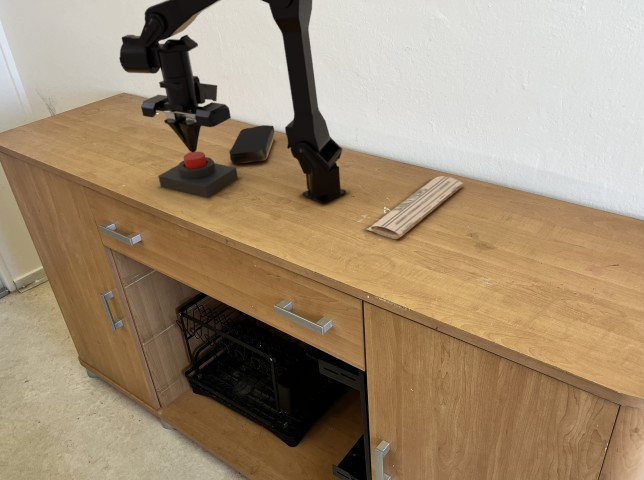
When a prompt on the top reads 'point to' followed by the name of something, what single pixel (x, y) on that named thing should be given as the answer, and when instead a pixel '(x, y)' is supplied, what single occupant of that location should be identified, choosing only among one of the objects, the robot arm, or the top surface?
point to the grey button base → (199, 178)
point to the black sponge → (252, 144)
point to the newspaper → (416, 207)
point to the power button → (194, 160)
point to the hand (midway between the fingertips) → (193, 151)
